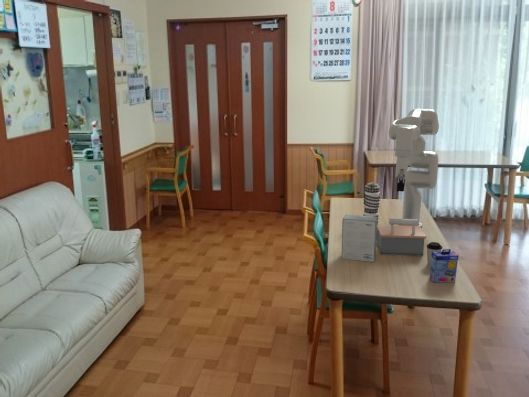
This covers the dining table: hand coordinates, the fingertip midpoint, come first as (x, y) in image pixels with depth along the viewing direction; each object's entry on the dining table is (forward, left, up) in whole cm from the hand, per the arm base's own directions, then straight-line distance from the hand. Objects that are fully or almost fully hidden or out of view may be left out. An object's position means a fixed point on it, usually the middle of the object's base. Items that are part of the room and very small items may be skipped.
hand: (400, 189), depth 242 cm
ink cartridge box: (+34, +14, -31) cm, 48 cm away
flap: (-1, +2, -22) cm, 22 cm away
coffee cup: (+17, +14, -31) cm, 38 cm away
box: (-2, +2, -31) cm, 31 cm away
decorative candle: (-37, -8, -31) cm, 49 cm away
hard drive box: (+11, -19, -31) cm, 38 cm away
